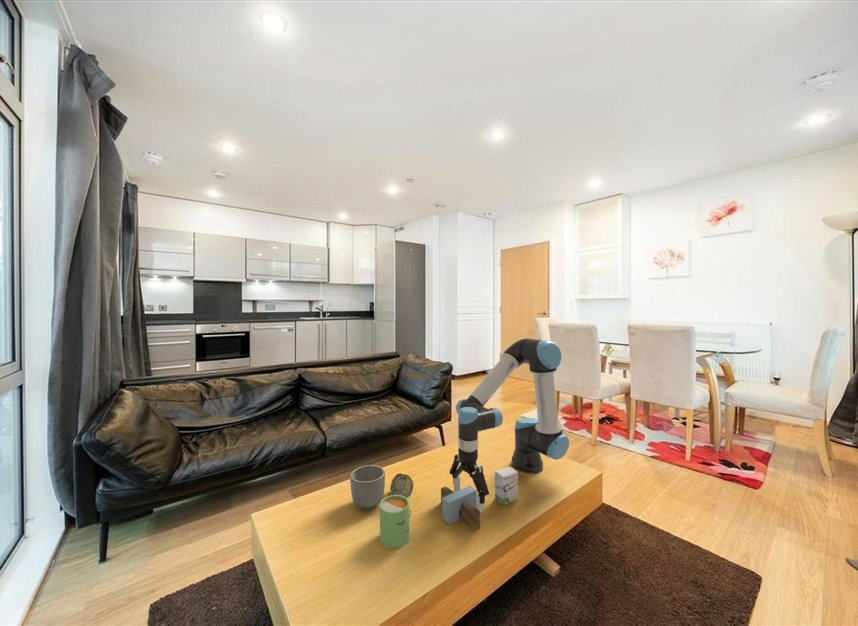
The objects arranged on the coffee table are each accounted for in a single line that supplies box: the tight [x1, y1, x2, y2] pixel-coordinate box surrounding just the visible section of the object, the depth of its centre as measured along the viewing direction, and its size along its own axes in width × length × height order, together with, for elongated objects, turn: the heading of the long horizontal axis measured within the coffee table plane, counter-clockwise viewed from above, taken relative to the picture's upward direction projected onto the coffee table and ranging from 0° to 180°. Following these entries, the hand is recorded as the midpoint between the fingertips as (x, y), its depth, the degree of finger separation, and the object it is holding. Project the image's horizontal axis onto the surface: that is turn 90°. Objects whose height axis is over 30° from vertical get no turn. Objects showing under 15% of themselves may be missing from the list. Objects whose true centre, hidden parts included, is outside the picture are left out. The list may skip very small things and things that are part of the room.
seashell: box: [389, 472, 414, 499], centre depth 136 cm, size 11×11×10 cm
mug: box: [379, 494, 412, 549], centre depth 113 cm, size 13×10×12 cm
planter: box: [349, 464, 386, 511], centre depth 131 cm, size 14×14×13 cm
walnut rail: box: [440, 485, 481, 531], centre depth 124 cm, size 2×20×6 cm, turn 35°
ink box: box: [494, 466, 519, 506], centre depth 134 cm, size 8×5×12 cm, turn 118°
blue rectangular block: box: [441, 485, 478, 525], centre depth 124 cm, size 14×4×8 cm, turn 125°
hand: (468, 502), depth 127 cm, fingers open, 13 cm apart
